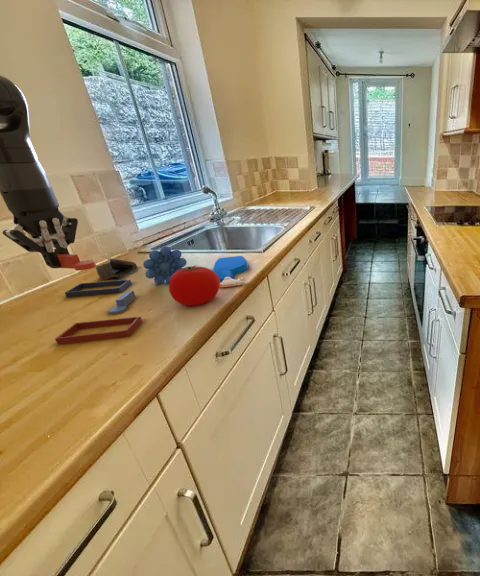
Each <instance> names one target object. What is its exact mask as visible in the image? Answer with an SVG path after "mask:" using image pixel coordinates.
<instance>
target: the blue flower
mask: <svg viewBox="0 0 480 576" xmlns="http://www.w3.org/2000/svg"><path fill="white" fill-rule="evenodd" d="M148 257H149V258H147V259H146V260H144V261H143V264H142V265H143V268H144V269H146V270H145V273H144V274H145V277H146V278H147V279H149V280H150V279H151V280H152V279H153V281H154V283H155V284H156V285H161V284H163V283H165V282H166V283H167V284H169V282H170V278H171V276H172V275H173V274H174V273H175V272H176V271H178V270H180V268H185V267H186V266H187V259H185V257H182V251H181V250H179V249H173V250H172V248H171V247H169V246H162V247H161V248H160V250H157V249H156V250H152V251H150V252H149V253H148Z"/></svg>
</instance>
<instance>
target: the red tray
mask: <svg viewBox="0 0 480 576" xmlns="http://www.w3.org/2000/svg"><path fill="white" fill-rule="evenodd" d="M142 322H143V319H142V317H141V316H140V315H139V316H130V317H119V318H110V319H101V320H100V319H99V320H91V321H82V322H75V323H73V324H72V325H71V326H70V327H68V328H67V329H66V330H64V331H63V332H62V333H61V334H59V335H58V336H57V337H56V338H54V339H55V342H56V344H57V345H67V344H75V343H84V342H93V341H100V340H101V341H102V340H108V339H109V340H110V339H118V338H119V339H120V338H128V337H130V335H132V333H133V332H134V331H135V330H136V329H138V327H139V326H140V325H141V324H142ZM120 325H121V326H122V325H129V326H127V327H126V328H125V329H124V330H114V331H105V332H96V333H86V334H78V335H74V334H75V333H76V332H77V331H79V330H84V329H93V328H102V327H111V326H120Z"/></svg>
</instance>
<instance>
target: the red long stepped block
mask: <svg viewBox="0 0 480 576" xmlns="http://www.w3.org/2000/svg"><path fill="white" fill-rule="evenodd" d="M57 257H58V260H59V262H60V264H61V267H60V268H59V269H71V270H73V269H74V270H75V271H88V270H91V269H94V268H96V267H97V264H96V261H95V260H93V259H87V260H86V259H85V260H80V258H79V255H78V254H72V253H71V254H70V253H69V254H57ZM49 268H50V269H52V268H51V267H49Z"/></svg>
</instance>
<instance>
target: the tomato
mask: <svg viewBox="0 0 480 576" xmlns="http://www.w3.org/2000/svg"><path fill="white" fill-rule="evenodd" d="M220 283H221V280H220V279H219V277H218V275H217V274H216V273H215V272H214V270H213V269H211V268H208V267H205V266H199V265H198V266H197V264H194V265H191V266H190V265H189V266H184V267H181V268H180V270H178V271H176V272H175V273H174V274H173V275H172V276H171V278H170V282H169V283H168V292H169V294H170V296H171V298H172V299H174V301H175V302H177V303H178V304H180V305H184V306H187V307H197V306H201V305H205V304H207V303H209V302H210V301H211V300H212V299H214V298H215V297H216V296H217V295H218V292H219V290H220V288H221V287H220Z"/></svg>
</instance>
